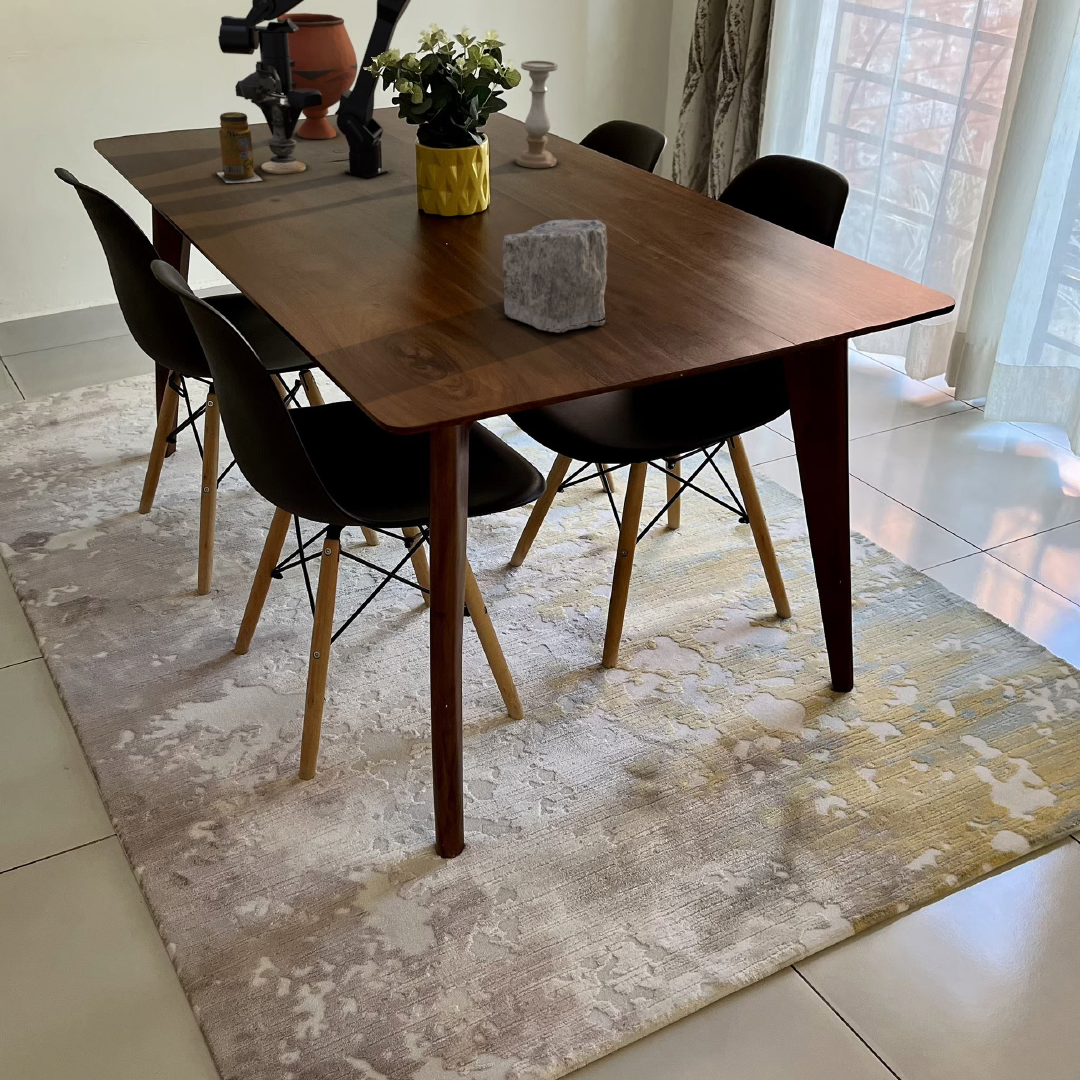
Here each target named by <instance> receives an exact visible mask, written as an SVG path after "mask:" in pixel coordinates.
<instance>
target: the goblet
mask: <svg viewBox="0 0 1080 1080" xmlns="http://www.w3.org/2000/svg"><path fill="white" fill-rule="evenodd" d="M288 18H290V20H291V21H292V22H293V23H294V24H295V25H296V26H297V27H298V28H299V29H298V31H296V32H294V33H288V38H289V52H290V60H292V61H295V66H294V67H291V77H292V82H295V83H296V86H297V88H294V89H292V90H296V89H301V88H305V87H306V88H311V89H316V90H318V91H319V92H320V93H321V96H322V104H321V105H317V106H312V107H308V108H303V110H302V112H301V114H303V115H304V117H305V120H304V121H303V123H302V124H300V127H299V129H298V131H297V136H298V137H299V138H300V137H301V138H303V139H308V140H326V139H332V138H334V137H337V132H336V130H335V129H334V127H333V126H332V125H331V123H330V122H329V121H328V119H327V117H326V116H327V115H328V114H329V108H331V107H333V106H334V105H336V104H337V103H340V98H341V95H342V94H343V93H344V92H346V91H347V90H348V89H349V90H351V89H352V87H353V85H354V84H355V82H356V79H357V75H358V60H357V59H358V58H357V54H356V52H355V48H354V45H353V42H352V40H351V37H350V36H349V33H348V30H347V28H346V25H345V24H344V23H345V19H343V17H338V16H336V15H332V14H324V13H307V12H302V13H301V12H299V13H285V14H284V15H282V16H280V17H278V18H276V22H284V21H285V20H286V19H288Z"/></svg>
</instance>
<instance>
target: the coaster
mask: <svg viewBox="0 0 1080 1080" xmlns="http://www.w3.org/2000/svg"><path fill="white" fill-rule="evenodd" d="M260 168H261V170H262V171H263V172H266V173H270V174H277V175H279V174H280V175H285V174H289V175H290V174H296V173H300V172H303V171H305V170H306V168H307V166H306V164H305V163H304V162H302V161H297V160H296V161H294V162H290V163H275V162H272V161H266V162H264V163H262V164H261V165H260Z"/></svg>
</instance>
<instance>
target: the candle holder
mask: <svg viewBox="0 0 1080 1080" xmlns="http://www.w3.org/2000/svg"><path fill="white" fill-rule="evenodd" d="M520 68H521V69H522V70H523V71H528V76H529V78H530V79H531V81H532V82H531V86H530V87H529V92H531V101H530V102H531V104H530V109H529V111H528V114H527V116H526V118H525V121H524V129H525V131H526V133H527V134H528V135H527V136H526V137H525V141H526V142H527V145H528V149H526V150H522V151H521V153H520V155H517V156H516V157H515V163H516V164H517V165H518V166H520V167H525V168H529V169H530V168H531V169H532V168H533V169H546V168H553V167H555V166H556V165H557V163H558V162H557V160H558V159H557V158H556V157H555V156H553V154H552V152H550V151H548V150H546V149H545V147H546V144H547V143H548V141H549V138H548V137H547V136H546V135H547V134H548V133H549V131H550V128H551V121H550V118H549V116H548V113H547V110H546V93H547V92H548V91H549V90H548V88H547V86H546V82H547V80H548V78H550V72H554V71H557V70H558V69H559V67H558V63H556V62H554V61H547V60H525V61H522V62H521V63H520Z"/></svg>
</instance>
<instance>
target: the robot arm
mask: <svg viewBox="0 0 1080 1080" xmlns="http://www.w3.org/2000/svg"><path fill="white" fill-rule="evenodd" d="M304 1H305V0H251V3H252V7H251V8H250V10H249V12H248V13H247V14H246V16H245V17H238V16H237V17H236V16H231V15H223V16H221V17H220V22H221V23H220V27H219V34H218V45H219V48H220V52H221V53H223V54H229V55H230V54H232V55H249V56H252V55H254V53H255V50H258V49H259V54H260V55H259V56H260V60H258V61H255V62H256V64H255V71H254V72H252V73H250V74H248V75H247V76H246V77H244V78H243V79H242V80H238V81H237V82H236V84H235V96H236V97H239V98H244V100H246V101H248V100H250V103H252V104H254V105H255V106H257V107H258V108H259V109H260V110H261V113H262V114H263V116H264V119H265V121H266V125H267V126H268V129H269V131H270V134H271V135H272V136H273V135H274V131H273V124H271V122H273V114H272V107H273V105H275V104H276V103H278V102H277V100H278V99H279V100H280V102H281V101H282V100H284V101H283V103H282V104H283V105H279V106H277V107H278V108H279V109H280V110H281V112H282V113H283V121H284V130H285V135H286V139H292V136H293V134H294V132H295V130H296V126H297V124H298V122H299V118H300V116H301V114H302V110H303V108H308V107H312V106H317V105H321V104H322V96H321V93H320V92H319V91H318V90H316V89H311V88H306V87H305V88H301V89H296V90H292V89H294V88H297V86H296V83H295V82H292V77H291V67H294V66H295V61H292V60H290V52H289V38H288V33H294V32H296V31H298V29H299V28H298V27H297V26H296V25H295V24H294V23H293V22H292V21H291V20H290V18H288V19H286V20H285V21H284V22H278V21H273V20H275V19H276V20H277V18H278V17H280V16H282V15H284V14H288V12H290V11H292V9H294V8H296V7H297V6H299V5H300V4H301V3H303V2H304ZM411 1H412V0H376V15H375V21H374V24H373V27H372V30H371V33H370V37H369V40H368V43H367V45H366V49H365V52H364V55H363V58H362V61H361V64H360V68H359V69H358V73H357V76H356V79H355V82H354V86H353V88H352V90H351V89H350V90H349V89H348V90H347V91H346V92H344V93H343V94H342V95H341V98H340V101H339V103H338V107H337V109H336V111H335V112H334V115H335V116H336V126H337V128H338V131H340V132H341V134H342V135H344V138H345V139H346V142H347V145H348V147H349V149H348V150H349V151H348V165H349V168H348V169H345V170H344V173H345V174H347V175H352V176H357V177H361V178H364V179H371V178H374V177H377V176H382V175H385V174H388V173H389V170H388V169H385V168H383V161H382V141H381V138H382V136H383V134H384V133H383V132H384V128H383V126H382V125H381V124H380V123H379V122H378V121H377V120H376V119H375V117H374V116H373V114H374V109H375V94H376V93H375V91H376V90H377V85H378V82H379V80H380V76H381V74H380V75H378V76H377V77H375V78H372V73H371V71H368V70H364V69H363V67H369V66H371V65H372V63H373V60H372V58H371V57H377V56H378V55H380V54H381V53H383V52H386V51H388V52H389V49H390V47H391V44H392V41H393V37H394V34H395V32H396V28H397V25H398V24H399V21H400V20H401V18H402V17H403V15H404V13H405V12H406V10H407V8H408V7H409V4H410V3H411ZM266 21H268V23H267V26H262V25H259V24H261V23H263V22H266ZM281 99H282V100H281Z"/></svg>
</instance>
